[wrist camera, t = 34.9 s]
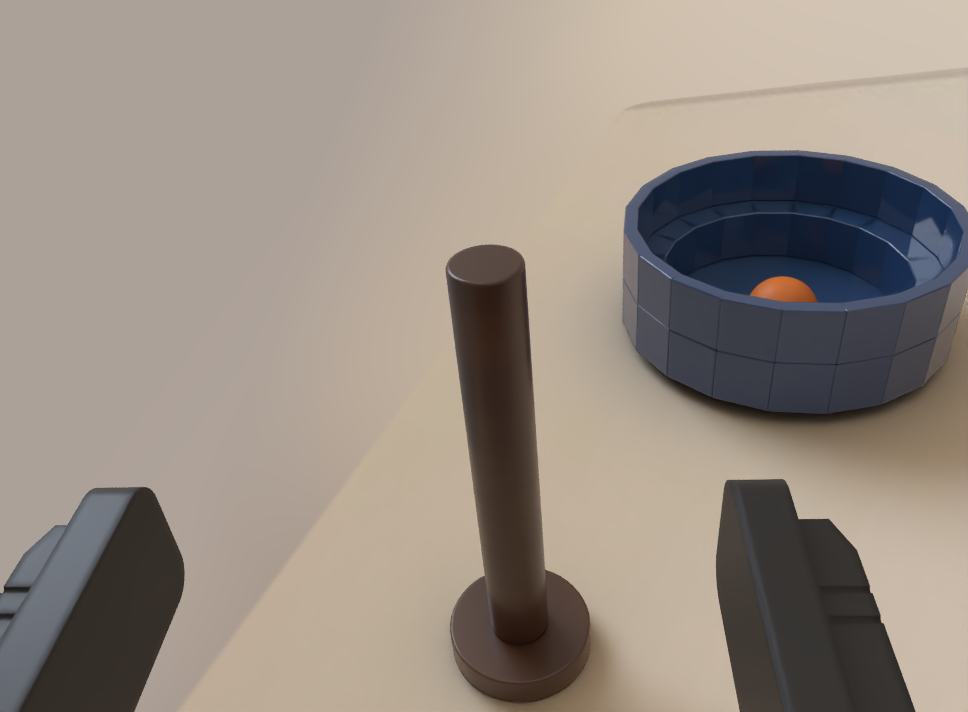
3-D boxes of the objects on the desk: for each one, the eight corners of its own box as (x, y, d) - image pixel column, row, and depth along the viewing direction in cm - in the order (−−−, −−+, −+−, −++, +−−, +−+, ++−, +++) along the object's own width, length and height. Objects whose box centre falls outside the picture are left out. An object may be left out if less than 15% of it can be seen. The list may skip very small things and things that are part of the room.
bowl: (760, 471, 33) (776, 355, 30) (567, 301, 43) (564, 201, 40) (1021, 350, 37) (1061, 238, 34) (789, 222, 48) (802, 127, 45)
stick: (493, 728, 25) (438, 342, 17) (430, 620, 29) (359, 251, 20) (617, 660, 27) (622, 274, 19) (544, 565, 30) (521, 200, 22)
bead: (750, 260, 37) (744, 299, 40) (746, 318, 36) (740, 354, 38) (824, 264, 37) (813, 304, 39) (823, 324, 35) (811, 361, 38)
